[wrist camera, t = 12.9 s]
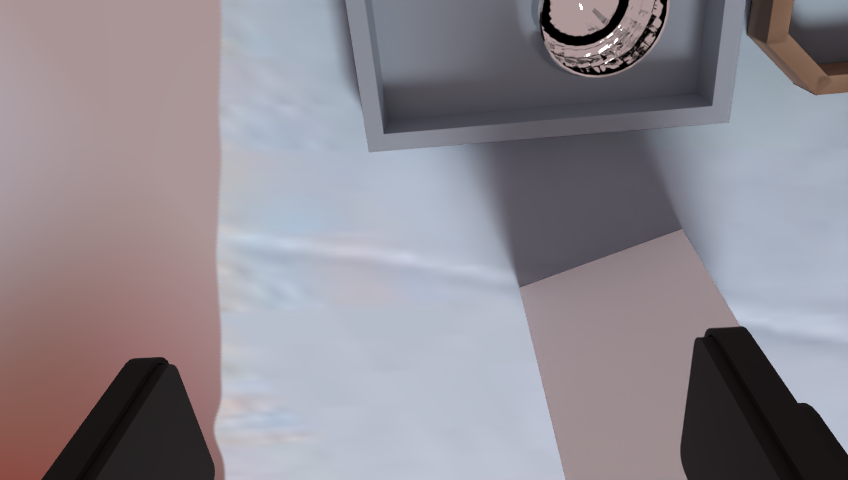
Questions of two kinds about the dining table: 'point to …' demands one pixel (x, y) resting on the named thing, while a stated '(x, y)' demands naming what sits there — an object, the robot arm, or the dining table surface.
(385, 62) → the tray
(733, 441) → the robot arm
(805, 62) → the collar
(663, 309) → the milk
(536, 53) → the wineglass
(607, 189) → the dining table surface
